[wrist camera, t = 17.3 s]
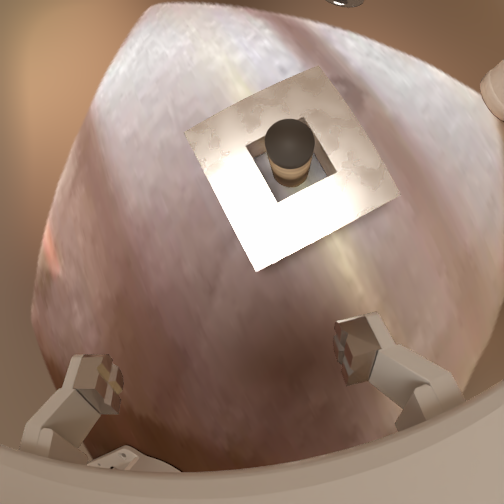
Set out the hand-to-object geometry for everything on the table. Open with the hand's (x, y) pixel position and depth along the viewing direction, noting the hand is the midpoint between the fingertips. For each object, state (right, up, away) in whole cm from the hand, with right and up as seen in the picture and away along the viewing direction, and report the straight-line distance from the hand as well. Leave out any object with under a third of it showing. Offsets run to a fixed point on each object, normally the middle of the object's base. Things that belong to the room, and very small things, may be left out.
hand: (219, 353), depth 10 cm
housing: (+5, +13, +23) cm, 27 cm away
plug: (+5, +13, +23) cm, 27 cm away
